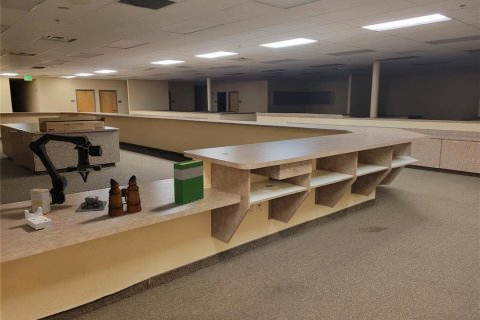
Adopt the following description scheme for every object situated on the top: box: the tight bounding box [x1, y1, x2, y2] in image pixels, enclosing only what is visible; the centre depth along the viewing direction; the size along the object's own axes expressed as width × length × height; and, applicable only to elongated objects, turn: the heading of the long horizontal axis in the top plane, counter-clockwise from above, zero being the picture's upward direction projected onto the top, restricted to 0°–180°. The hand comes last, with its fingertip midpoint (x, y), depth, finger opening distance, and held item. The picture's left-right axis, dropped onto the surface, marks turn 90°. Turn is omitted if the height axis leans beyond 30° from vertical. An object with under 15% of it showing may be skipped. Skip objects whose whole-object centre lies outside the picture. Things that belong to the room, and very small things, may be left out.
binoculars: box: [107, 174, 142, 218], centre depth 184 cm, size 18×8×20 cm, turn 130°
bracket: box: [24, 207, 53, 230], centre depth 165 cm, size 13×7×8 cm, turn 50°
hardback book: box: [173, 159, 205, 205], centre depth 207 cm, size 18×7×24 cm, turn 142°
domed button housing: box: [84, 195, 99, 205], centre depth 193 cm, size 7×6×5 cm
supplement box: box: [29, 187, 52, 216], centre depth 183 cm, size 8×5×13 cm, turn 71°
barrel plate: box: [76, 199, 108, 213], centre depth 194 cm, size 14×14×3 cm
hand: (85, 182), depth 202 cm, fingers closed
